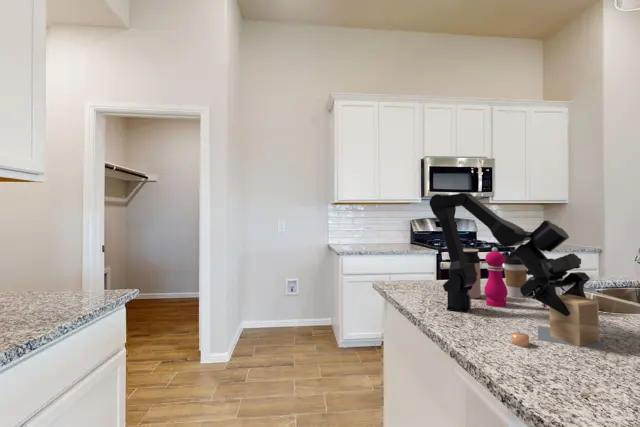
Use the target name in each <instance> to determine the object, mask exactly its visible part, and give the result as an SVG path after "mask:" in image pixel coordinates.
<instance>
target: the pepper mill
mask: <svg viewBox="0 0 640 427" xmlns="http://www.w3.org/2000/svg"><path fill="white" fill-rule="evenodd" d="M498 249H499V248H497V247H496V246H495V247H492V248H491V251H490V252H489V251H488V253H487V254H486V255H485V257H484V258H485V262H486V263H487V266H486V267H487V268H486V269H487V271H488V278H487V281H486V283H485V285H484V295H485V296H486V299H485V304H486V305H487V306H491V307H496V308H502V307H506V306H507V299H505V298H506V297H508V296H509V295H508V292H507V286H506V282H505V281H504V279H503V271H504V265H503V264H504V262H505V258H504V256H505V255H504V254H503V253H501V252H499V251H498Z"/></svg>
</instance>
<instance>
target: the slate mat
mask: <svg viewBox="0 0 640 427" xmlns="http://www.w3.org/2000/svg"><path fill="white" fill-rule="evenodd" d="M537 327H538V328H537V341H544V342H549V343H556V344H562V345H567V346H568V345H569V346H572V347H573V346H574V347H581V348H587V349H594V350H600V351H607V349H606V347H605V345H604V343H603V340H602V338H601V336H600V335H599V342H596V343H592V344H587V345H582V346H577V345H574V344H572V343H569V342H566V341H563V340H560V339H557V338H554V337H551V336H550V326H543V325H542V326H541V325H538V326H537Z"/></svg>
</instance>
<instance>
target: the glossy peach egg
mask: <svg viewBox="0 0 640 427" xmlns="http://www.w3.org/2000/svg"><path fill="white" fill-rule="evenodd" d="M511 344H512V345H514V346H516V347H521V348H527V347H530V336H529V335H528V334H526V333H525V332H519V331H518V332H517V331H516V332H515V331H514V332H512V333H511Z"/></svg>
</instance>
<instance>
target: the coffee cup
mask: <svg viewBox="0 0 640 427" xmlns="http://www.w3.org/2000/svg"><path fill="white" fill-rule="evenodd" d="M504 258H505V262H504V263H503V264H504V265H503V271H504V278H505V285H506V288H507V292H508V295H507V296H509V297H514V298H525V297H524V296H523V295H522V293H521V292H520V286H522V285H523V284H524V283H525V282H526V281H527V279H528V278H527V276H528V275H527V273H526V272H527V271H528V269H527V268H526V267H525V266H524V264H523V263H522V262H521V261H520V259H517V260H515V259H509V254H508V255H504Z"/></svg>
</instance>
